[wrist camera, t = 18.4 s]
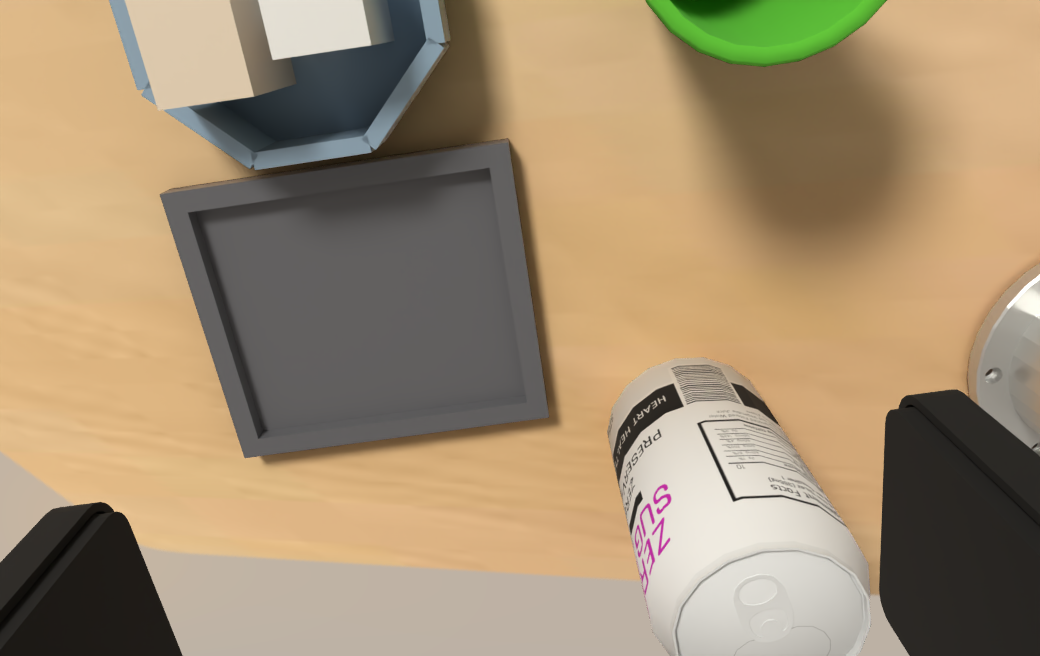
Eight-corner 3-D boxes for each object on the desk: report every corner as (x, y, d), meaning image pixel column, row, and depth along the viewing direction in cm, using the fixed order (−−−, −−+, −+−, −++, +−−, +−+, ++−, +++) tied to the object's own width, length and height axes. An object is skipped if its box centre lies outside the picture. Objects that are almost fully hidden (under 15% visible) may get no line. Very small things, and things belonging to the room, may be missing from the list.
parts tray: (508, 138, 35) (508, 142, 34) (547, 406, 41) (549, 417, 39) (170, 188, 36) (159, 194, 35) (251, 446, 41) (244, 458, 40)
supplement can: (778, 456, 42) (911, 674, 28) (634, 506, 43) (694, 739, 29) (736, 328, 39) (860, 500, 25) (583, 385, 40) (622, 579, 26)
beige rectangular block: (270, -26, 32) (220, -36, 26) (296, 83, 34) (254, 96, 28) (186, -13, 32) (118, -20, 27) (216, 95, 34) (158, 110, 28)
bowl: (413, -191, 31) (400, -220, 27) (466, 126, 35) (461, 138, 31) (111, -140, 31) (57, -162, 27) (202, 166, 36) (167, 183, 32)
